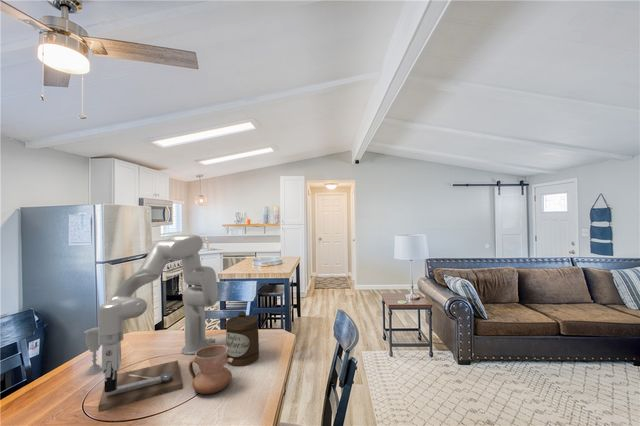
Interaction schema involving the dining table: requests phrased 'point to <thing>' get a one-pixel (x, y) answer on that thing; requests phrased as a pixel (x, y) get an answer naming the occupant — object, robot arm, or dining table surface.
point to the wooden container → (242, 339)
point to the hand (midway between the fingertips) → (111, 387)
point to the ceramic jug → (211, 369)
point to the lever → (141, 383)
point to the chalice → (93, 348)
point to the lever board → (142, 392)
